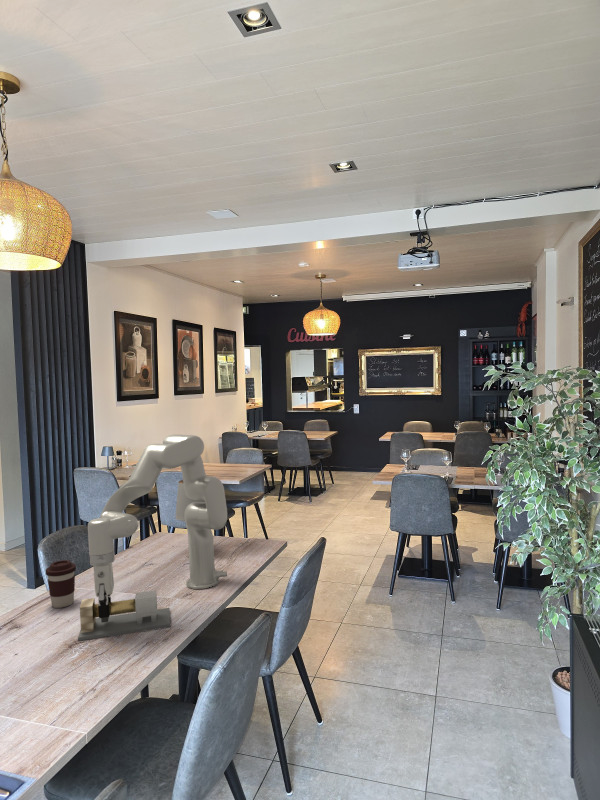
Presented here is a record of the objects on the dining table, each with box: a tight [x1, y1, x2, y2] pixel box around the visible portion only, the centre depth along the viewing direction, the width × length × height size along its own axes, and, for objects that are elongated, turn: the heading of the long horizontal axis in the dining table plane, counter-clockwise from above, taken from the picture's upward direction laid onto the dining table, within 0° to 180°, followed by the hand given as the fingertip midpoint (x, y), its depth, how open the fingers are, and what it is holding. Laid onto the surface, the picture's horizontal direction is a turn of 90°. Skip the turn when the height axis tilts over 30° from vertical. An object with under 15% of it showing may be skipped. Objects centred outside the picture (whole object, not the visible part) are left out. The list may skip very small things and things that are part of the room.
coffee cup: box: [45, 559, 77, 609], centre depth 193 cm, size 10×10×15 cm
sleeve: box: [134, 589, 158, 624], centre depth 175 cm, size 6×6×8 cm
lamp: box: [174, 479, 205, 522], centre depth 242 cm, size 19×19×34 cm
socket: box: [79, 597, 97, 633], centre depth 170 cm, size 4×7×8 cm, turn 15°
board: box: [77, 607, 171, 642], centre depth 174 cm, size 28×13×1 cm, turn 105°
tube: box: [93, 595, 136, 623], centre depth 173 cm, size 18×5×6 cm, turn 105°
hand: (105, 612), depth 172 cm, fingers closed on tube, 5 cm apart
